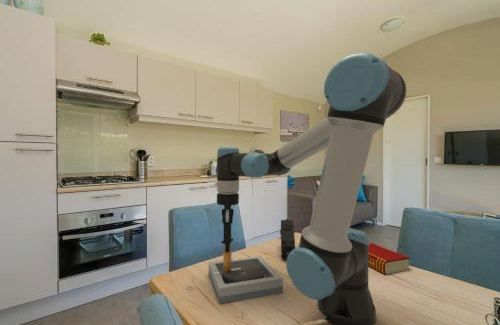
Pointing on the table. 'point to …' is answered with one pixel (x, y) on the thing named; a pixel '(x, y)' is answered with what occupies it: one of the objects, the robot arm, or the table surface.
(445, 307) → the table surface
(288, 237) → the tool
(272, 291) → the square crank box
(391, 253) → the book
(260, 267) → the crank dial
